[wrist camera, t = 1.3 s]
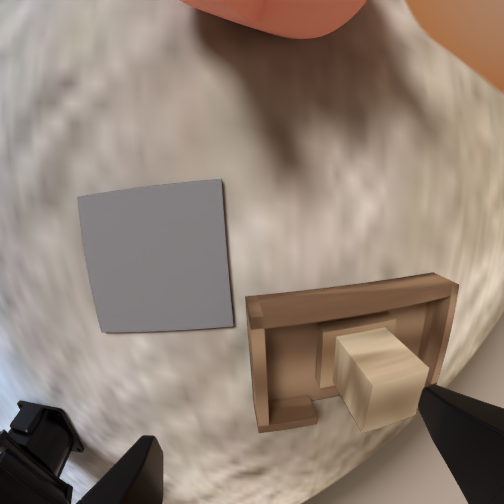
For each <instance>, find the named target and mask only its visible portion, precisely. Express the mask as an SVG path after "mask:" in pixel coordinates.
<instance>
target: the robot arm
mask: <svg viewBox="0 0 504 504" xmlns="http://www.w3.org/2000/svg"><path fill="white" fill-rule="evenodd" d="M17 405H18V407H19V409H20V411H19V413H18V414H17V415H16V417H15V418H14V420H13V421H12V422H11V424H10V427H11V429H10V430H9V432H8V433H7V432H6V431H5V430H2V431H1V432H0V452H1V454H0V504H71V499H72V491H73V487H72V486H71V485H69V484H67V483H65V482H64V481H63V480H61V479H60V478H59V477H60V475H61V473H62V470H63V468H64V466H65V463H66V461H67V459H68V457H69V454H70V452H71V451H76V452H81V453H82V452H83V450H84V448H83V446H82V444H81V443H80V441H79V439H78V438H77V436H76V434H75V432H74V431H73V429H72V427H71V425H70V424H69V422H68V420H67V418H66V416H65V414H64V412H63V411H62V410H61V409H59V408H55V407H50V406H44V405H39V404H34V403H29V402H25V401H19V402H18V403H17ZM418 409H419V411H420V414H421V416H422V418H423V420H424V422H425V424H426V427H427V429H428V431H429V433H430V436H431V438H432V440H433V442H434V443H435V445H436V447H437V448H438V450H439V452H440V454H441V455H442V457H443V459H444V460H445V462H446V464H447V466H448V468H449V469H450V471H451V473H452V475H453V476H454V478H455V480H456V482H457V484H458V485H459V487H460V489H461V491H462V493H463V494H464V496H465V498H466V500H467V502H468V504H504V408H501V407H498V406H495V405H492V404H489V403H485V402H483V401H480V400H477V399H474V398H471V397H468V396H465V395H463V394H460V393H457V392H454V391H451V390H449V389H446V388H443V387H441V386H438V385H435V384H431V385H428V386H426V387H424V388H423V389H422V392H421V396H420V399H419V402H418ZM162 502H163V451H162V449H161V447H160V445H159V443H158V441H157V438H156V437H155V436H152V435H143V436H141V437H140V438H139V439H138V441H137V442H136V443H135V444H134V445H133V446H132V447H131V448H130V449H129V450H128V451H127V452H126V453H125V454H124V455H123V456H122V457H121V459H120V460H119V461H118V462H117V463H116V464H115V465H114V466H113V467H112V468H111V469H110V470H109V471H108V472H107V473H106V474H105V475H104V476H103V477H102V478H101V479H100V480H99V481H98V482H97V483H96V484H95V485H94V486H93V487H92V488H91V489H90V490H89V491H88V492H87V493H86V494H85V495H84V496H83V497H82V498H81V500H79V501H78V502H77V503H76V504H162Z"/></svg>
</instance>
